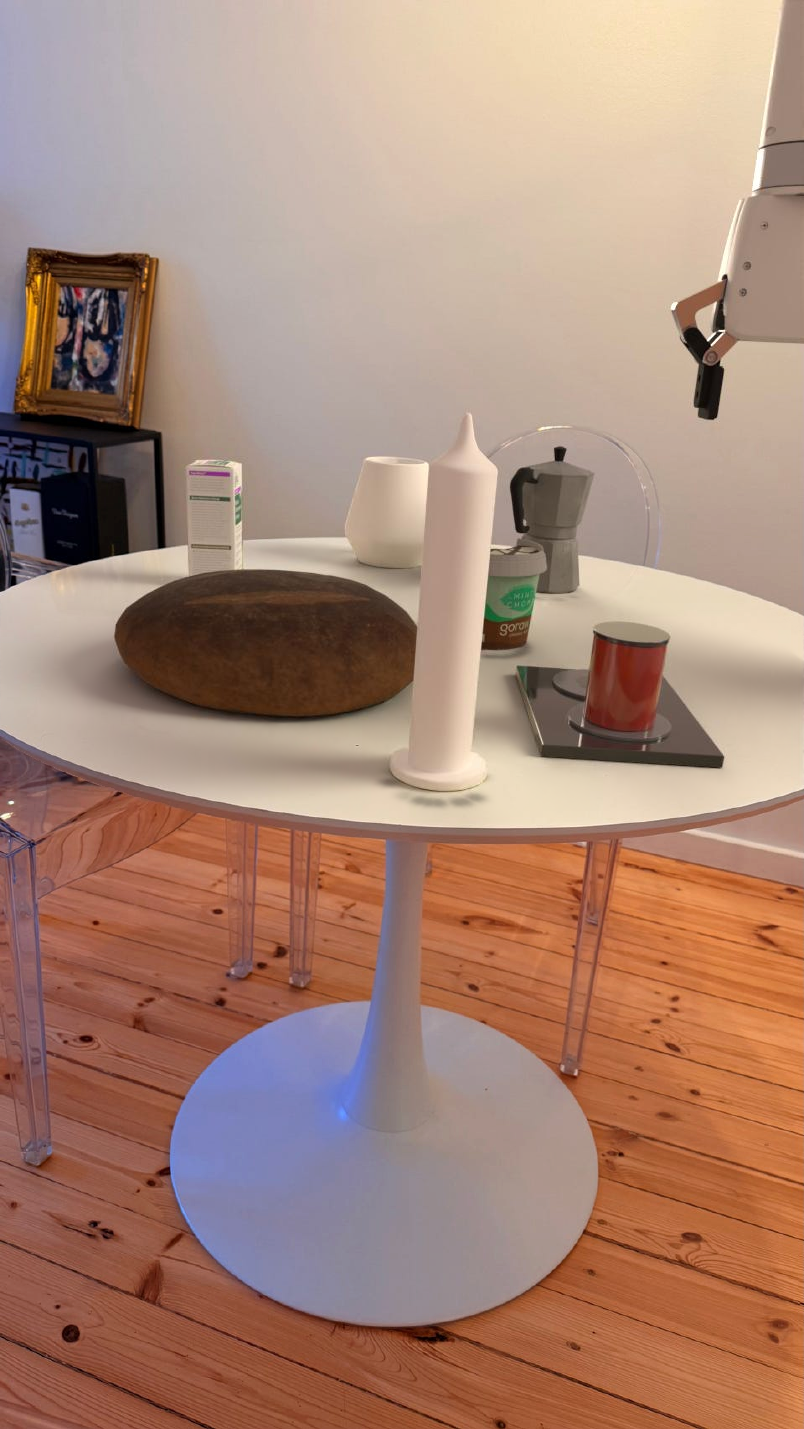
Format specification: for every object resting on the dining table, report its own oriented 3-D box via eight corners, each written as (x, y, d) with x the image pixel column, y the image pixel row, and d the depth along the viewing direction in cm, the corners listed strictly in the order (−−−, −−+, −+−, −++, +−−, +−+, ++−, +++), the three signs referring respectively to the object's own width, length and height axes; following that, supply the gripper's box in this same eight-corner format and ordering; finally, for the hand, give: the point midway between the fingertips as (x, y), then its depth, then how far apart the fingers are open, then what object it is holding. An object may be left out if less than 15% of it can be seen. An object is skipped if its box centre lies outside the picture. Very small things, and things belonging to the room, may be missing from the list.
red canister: (646, 708, 84) (660, 624, 81) (663, 734, 78) (678, 644, 76) (576, 703, 84) (587, 619, 81) (588, 729, 78) (600, 639, 76)
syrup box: (236, 590, 119) (236, 466, 113) (186, 587, 118) (185, 463, 113) (243, 579, 124) (244, 461, 119) (196, 576, 124) (194, 457, 119)
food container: (499, 661, 98) (509, 561, 95) (448, 647, 102) (456, 550, 98) (559, 638, 108) (570, 547, 104) (510, 626, 111) (520, 537, 108)
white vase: (338, 567, 134) (343, 462, 129) (347, 548, 147) (351, 452, 142) (437, 574, 134) (445, 469, 129) (437, 555, 146) (445, 458, 142)
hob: (661, 684, 95) (663, 671, 94) (722, 768, 76) (725, 752, 75) (515, 675, 94) (516, 662, 94) (540, 756, 76) (542, 740, 75)
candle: (380, 784, 69) (403, 411, 60) (399, 747, 76) (422, 406, 67) (481, 797, 68) (519, 420, 59) (491, 759, 75) (526, 414, 66)
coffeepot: (547, 573, 139) (562, 441, 133) (602, 587, 133) (621, 449, 127) (473, 585, 129) (486, 443, 123) (529, 601, 123) (546, 452, 117)
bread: (103, 632, 99) (99, 545, 96) (361, 622, 108) (365, 543, 105) (137, 737, 74) (133, 624, 71) (468, 712, 84) (477, 612, 81)
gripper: (900, 192, 76) (854, 422, 82) (677, 181, 76) (648, 413, 82) (950, 177, 69) (896, 430, 75) (704, 166, 69) (670, 420, 75)
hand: (767, 421), depth 79 cm, fingers open, 9 cm apart
